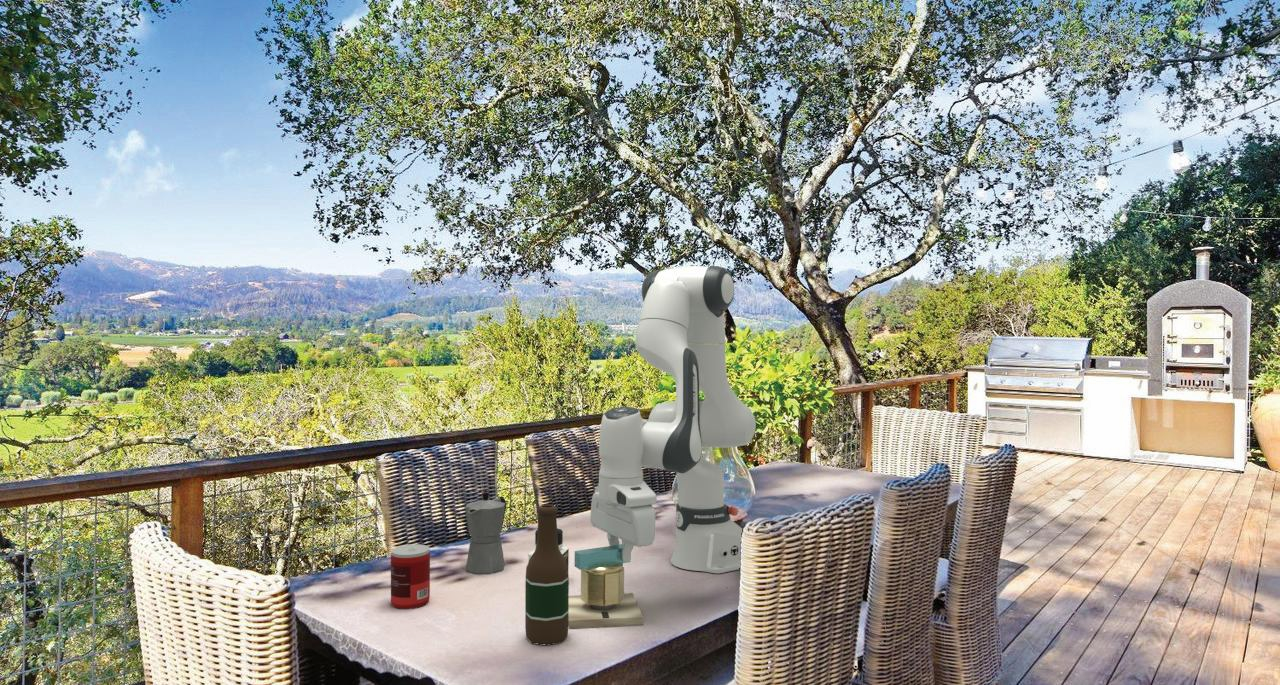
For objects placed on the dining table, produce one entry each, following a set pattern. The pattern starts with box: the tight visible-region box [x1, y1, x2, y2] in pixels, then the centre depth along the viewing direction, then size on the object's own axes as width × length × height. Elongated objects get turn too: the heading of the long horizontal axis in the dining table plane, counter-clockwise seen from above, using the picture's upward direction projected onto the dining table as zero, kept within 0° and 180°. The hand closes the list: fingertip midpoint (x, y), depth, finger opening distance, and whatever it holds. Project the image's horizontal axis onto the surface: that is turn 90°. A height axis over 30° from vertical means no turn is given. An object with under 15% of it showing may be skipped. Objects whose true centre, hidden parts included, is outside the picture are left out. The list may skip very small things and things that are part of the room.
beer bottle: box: [524, 504, 570, 646], centre depth 144 cm, size 8×8×24 cm
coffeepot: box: [465, 491, 507, 575], centre depth 187 cm, size 15×9×18 cm, turn 159°
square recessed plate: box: [568, 592, 644, 629], centre depth 156 cm, size 14×14×6 cm
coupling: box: [574, 543, 631, 606], centre depth 156 cm, size 8×11×10 cm
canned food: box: [390, 543, 431, 610], centre depth 162 cm, size 8×8×11 cm
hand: (620, 558), depth 158 cm, fingers closed on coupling, 2 cm apart
